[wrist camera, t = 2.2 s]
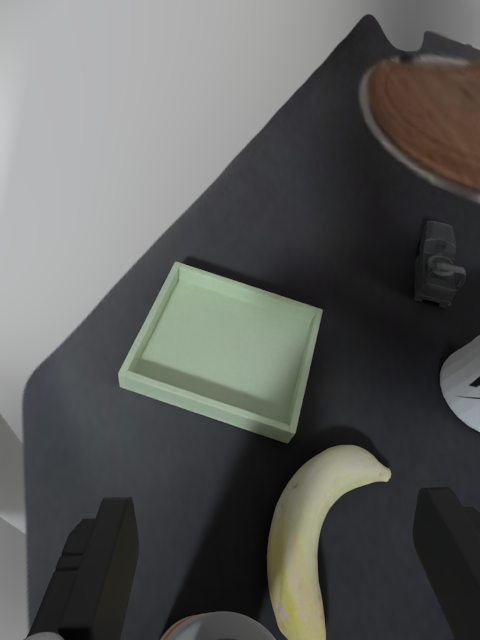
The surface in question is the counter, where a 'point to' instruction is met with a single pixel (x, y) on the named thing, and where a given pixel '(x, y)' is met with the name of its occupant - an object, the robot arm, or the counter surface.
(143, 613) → the counter surface
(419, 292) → the reflex sight
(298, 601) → the fruit
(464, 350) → the mug
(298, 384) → the green tray
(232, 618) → the lotion bottle
